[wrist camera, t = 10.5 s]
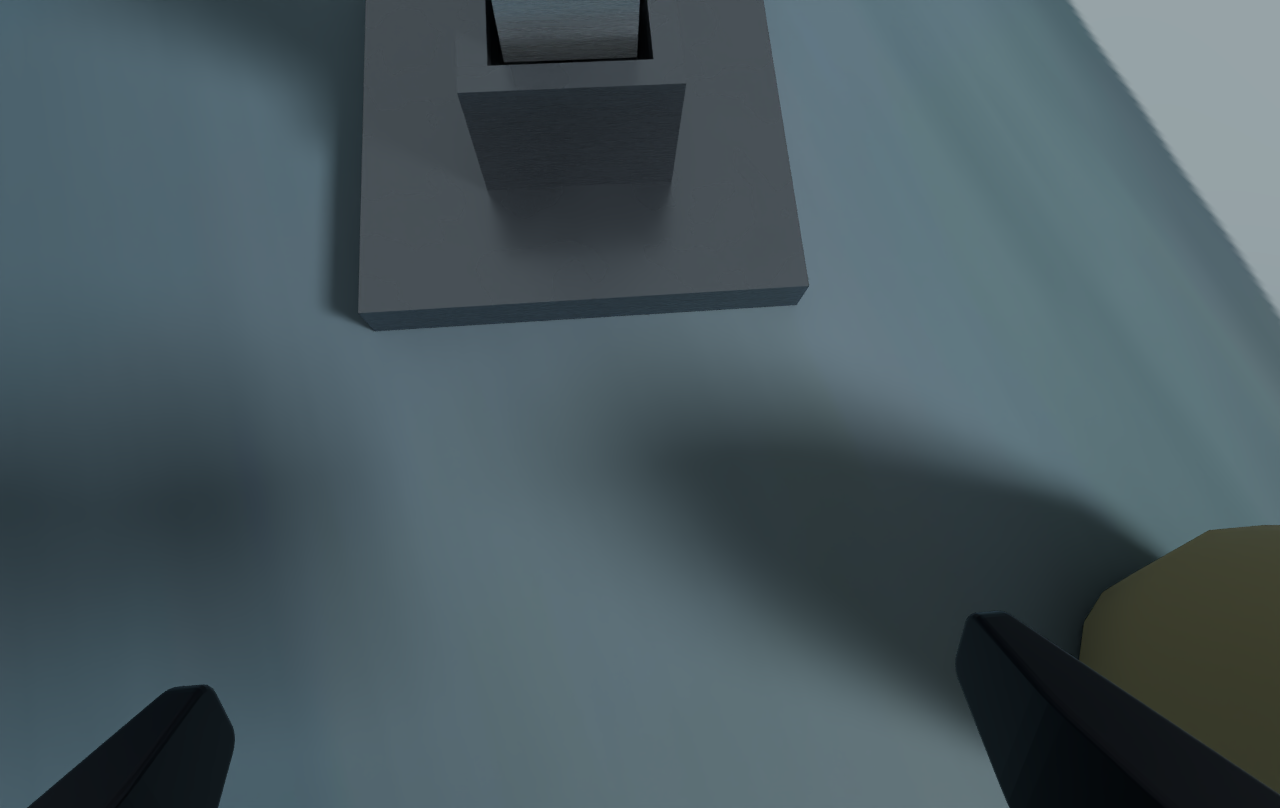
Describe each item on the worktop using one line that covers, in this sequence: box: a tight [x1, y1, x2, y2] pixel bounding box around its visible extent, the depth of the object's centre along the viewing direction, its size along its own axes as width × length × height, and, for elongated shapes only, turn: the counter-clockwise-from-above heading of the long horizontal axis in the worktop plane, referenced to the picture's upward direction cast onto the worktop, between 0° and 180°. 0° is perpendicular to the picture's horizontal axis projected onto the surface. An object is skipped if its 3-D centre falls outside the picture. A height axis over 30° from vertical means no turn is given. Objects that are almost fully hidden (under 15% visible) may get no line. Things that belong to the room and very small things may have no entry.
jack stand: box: [358, 0, 809, 331], centre depth 22 cm, size 14×14×6 cm
